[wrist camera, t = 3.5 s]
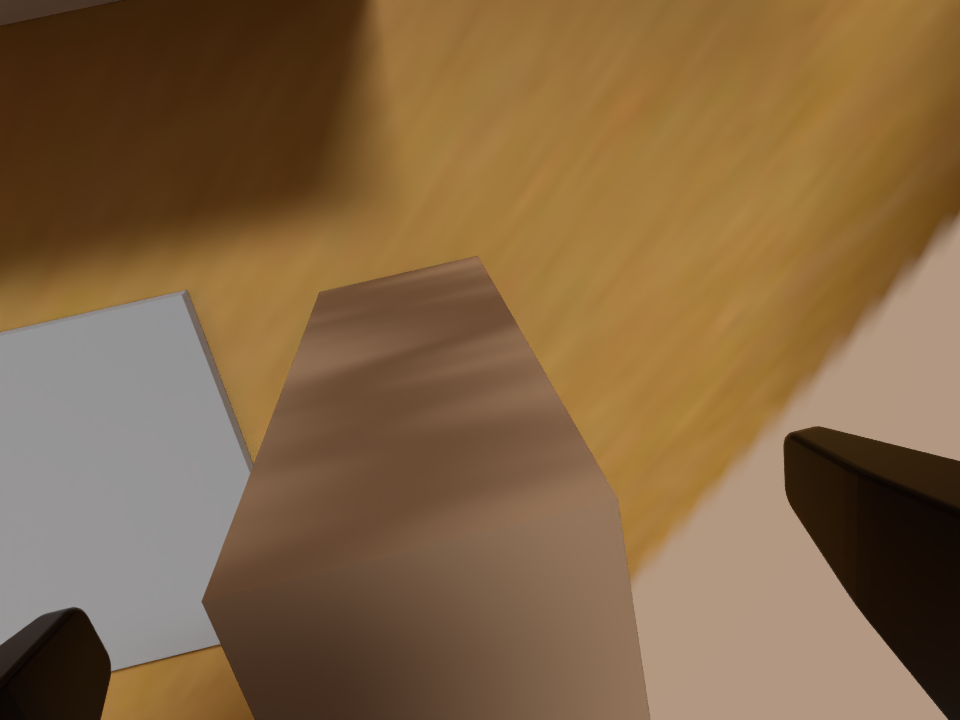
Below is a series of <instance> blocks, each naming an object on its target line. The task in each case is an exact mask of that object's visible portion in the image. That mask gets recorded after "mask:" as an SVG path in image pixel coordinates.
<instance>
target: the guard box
mask: <svg viewBox="0 0 960 720" xmlns="http://www.w3.org/2000/svg"><path fill="white" fill-rule="evenodd" d="M116 1H121V0H0V26H1V25H6V24H11V23H15V22H20V21H25V20H30V19H35V18H39V17H44V16H49V15H54V14H59V13H63V12H68V11H73V10H78V9H83V8H87V7H92V6H97V5H102V4H107V3H111V2H116Z"/></svg>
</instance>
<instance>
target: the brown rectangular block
mask: <svg viewBox="0 0 960 720" xmlns="http://www.w3.org/2000/svg"><path fill="white" fill-rule="evenodd" d="M201 602H202V604H203V606H204V608H205V611H206V613H207V615H208V617H209V619H210V622H211V624H212V626H213V628H214V631H215V633H216V635H217V637H218V639H219V642H220V644H221V646H222V648H223V650H224V653H225V655H226V657H227V659H228V661H229V664H230V666H231V668H232V670H233V672H234V675H235V677H236V679H237V681H238V683H239V686H240V688H241V690H242V692H243V695H244V697H245V699H246V701H247V703H248V706H249V708H250V710H251V712H252V714H253V717H254V719H255V720H650V714H649V707H648V700H647V694H646V687H645V681H644V674H643V666H642V660H641V653H640V646H639V640H638V632H637V626H636V619H635V612H634V605H633V598H632V592H631V585H630V578H629V571H628V564H627V558H626V551H625V544H624V537H623V531H622V524H621V517H620V510H619V503H618V498H617V497H616V495H615V493H614V491H613V490H612V488H611V486H610V484H609V483H608V481H607V479H606V477H605V476H604V474H603V472H602V471H601V469H600V467H599V465H598V464H597V462H596V460H595V458H594V457H593V455H592V453H591V451H590V450H589V448H588V446H587V444H586V443H585V441H584V439H583V438H582V436H581V434H580V432H579V431H578V429H577V427H576V425H575V424H574V422H573V420H572V418H571V417H570V415H569V413H568V412H567V410H566V408H565V406H564V405H563V403H562V401H561V399H560V398H559V396H558V394H557V392H556V391H555V389H554V387H553V386H552V384H551V382H550V380H549V379H548V377H547V375H546V373H545V372H544V370H543V368H542V366H541V365H540V363H539V361H538V359H537V358H536V356H535V354H534V353H533V351H532V349H531V347H530V346H529V344H528V342H527V340H526V339H525V337H524V335H523V333H522V332H521V330H520V328H519V327H518V325H517V323H516V321H515V320H514V318H513V316H512V314H511V313H510V311H509V309H508V307H507V306H506V304H505V302H504V301H503V299H502V297H501V295H500V294H499V292H498V290H497V288H496V287H495V285H494V283H493V281H492V280H491V278H490V276H489V274H488V273H487V271H486V269H485V268H484V266H483V264H482V262H481V261H480V259H479V257H478V256H476V257H471V258H467V259H462V260H458V261H454V262H449V263H445V264H441V265H436V266H432V267H428V268H423V269H419V270H414V271H410V272H406V273H401V274H397V275H393V276H388V277H384V278H380V279H375V280H371V281H366V282H362V283H358V284H353V285H349V286H345V287H340V288H336V289H332V290H327V291H323V292H319V295H318V298H317V300H316V303H315V305H314V308H313V311H312V313H311V316H310V319H309V321H308V324H307V326H306V329H305V332H304V334H303V337H302V340H301V342H300V345H299V347H298V350H297V353H296V355H295V358H294V360H293V363H292V366H291V368H290V371H289V374H288V376H287V379H286V381H285V384H284V387H283V389H282V392H281V395H280V397H279V400H278V402H277V405H276V408H275V410H274V413H273V415H272V418H271V421H270V423H269V426H268V429H267V431H266V434H265V436H264V439H263V442H262V444H261V447H260V450H259V452H258V455H257V457H256V460H255V463H254V465H253V468H252V470H251V473H250V476H249V478H248V481H247V484H246V486H245V489H244V491H243V494H242V497H241V499H240V502H239V505H238V507H237V510H236V512H235V515H234V518H233V520H232V523H231V525H230V528H229V531H228V533H227V536H226V539H225V541H224V544H223V546H222V549H221V552H220V554H219V557H218V560H217V562H216V565H215V567H214V570H213V573H212V575H211V578H210V581H209V583H208V586H207V588H206V591H205V594H204V596H203V599H202V601H201Z"/></svg>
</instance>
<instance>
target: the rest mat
mask: <svg viewBox="0 0 960 720" xmlns="http://www.w3.org/2000/svg"><path fill="white" fill-rule="evenodd" d="M252 468H253V463H252V460H251V457H250V455H249V452H248V449H247V447H246V444H245V441H244V439H243V436H242V434H241V431H240V428H239V426H238V423H237V420H236V418H235V415H234V413H233V410H232V407H231V405H230V402H229V399H228V397H227V394H226V391H225V389H224V386H223V384H222V381H221V378H220V376H219V373H218V370H217V368H216V365H215V362H214V360H213V357H212V355H211V352H210V349H209V347H208V344H207V341H206V339H205V336H204V333H203V331H202V328H201V326H200V323H199V320H198V318H197V315H196V312H195V310H194V307H193V304H192V302H191V299H190V297H189V294H188V291H187V290H185V291H180V292H176V293H172V294H167V295H163V296H158V297H154V298H150V299H145V300H141V301H136V302H132V303H128V304H123V305H119V306H114V307H110V308H106V309H101V310H97V311H92V312H88V313H84V314H79V315H75V316H70V317H66V318H61V319H57V320H53V321H48V322H44V323H39V324H35V325H31V326H26V327H22V328H17V329H13V330H9V331H4V332H0V645H1V644H2V643H4V642H5V641H6V640H8V639H9V638H11V637H12V636H13V635H15V634H16V633H17V632H19V631H20V630H21V629H23V628H24V627H25V626H27V625H28V624H30V623H31V622H32V621H34V620H35V619H36V618H38V617H39V616H41V615H43V614H46V613H50V612H54V611H58V610H62V609H66V608H70V607H77V608H80V609H82V610H83V611H84V612H85V613H86V614H87V615H88V617H89V619H90V621H91V623H92V625H93V626H94V628H95V630H96V632H97V634H98V636H99V637H100V639H101V641H102V643H103V645H104V647H105V649H106V650H107V652H108V655H109V657H110V661H111V671H114V670H118V669H122V668H126V667H130V666H134V665H138V664H142V663H146V662H150V661H154V660H158V659H162V658H166V657H170V656H174V655H178V654H182V653H186V652H190V651H194V650H198V649H202V648H206V647H210V646H214V645H218V644H220V642H219V639H218V637H217V635H216V633H215V631H214V628H213V626H212V624H211V622H210V619H209V617H208V615H207V613H206V611H205V608H204V606H203V604H202V602H201V601H202V599H203V596H204V594H205V591H206V588H207V586H208V583H209V581H210V578H211V575H212V573H213V570H214V567H215V565H216V562H217V560H218V557H219V554H220V552H221V549H222V546H223V544H224V541H225V539H226V536H227V533H228V531H229V528H230V525H231V523H232V520H233V518H234V515H235V512H236V510H237V507H238V505H239V502H240V499H241V497H242V494H243V491H244V489H245V486H246V484H247V481H248V478H249V476H250V473H251V470H252Z"/></svg>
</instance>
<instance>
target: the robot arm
mask: <svg viewBox="0 0 960 720" xmlns="http://www.w3.org/2000/svg"><path fill="white" fill-rule="evenodd" d="M784 474H785V491H786V495H787V498H788V501H789V503H790V505H791V507H792V509H793V510H794V512H795V513H796V515H797V517H798V518H799V520H800V521H801V523H802V524H803V526H804V527H805V529H806V530H807V532H808V533H809V535H810V536H811V538H812V540H813V541H814V543H815V544H816V546H817V547H818V549H819V550H820V552H821V553H822V555H823V556H824V558H825V559H826V561H827V563H828V564H829V566H830V567H831V568H832V570H833V572H834V573H835V575H836V576H837V578H838V579H839V581H840V582H841V584H842V586H843V587H844V589H845V590H846V592H847V593H848V594H849V596H850V597H851V599H852V600H853V602H854V603H855V605H856V606H857V607H858V609H859V610H860V611H861V612H862V614H863V615H864V616H865V618H866V619H867V620H868V621H869V623H870V624H871V625H872V626H873V628H874V629H875V630H876V631H877V633H878V634H879V635H880V636H881V637H882V638H883V640H884V641H885V642H886V644H887V645H888V646H889V647H890V648H891V650H892V651H893V652H894V653H895V655H896V656H897V657H898V658H899V660H900V661H901V662H902V663H903V665H904V666H905V667H906V668H907V669H908V671H909V672H910V673H911V674H912V675H913V677H914V678H915V679H916V680H917V682H918V683H919V684H920V685H921V687H922V688H923V689H924V690H925V691H926V693H927V694H928V695H929V697H930V698H931V699H932V700H933V701H934V703H935V704H936V705H937V706H938V708H939V709H940V710H941V711H942V713H943V714H944V715H945V716H946V717H947V719H948V720H960V461H957V460H953V459H949V458H945V457H941V456H937V455H933V454H929V453H925V452H921V451H917V450H912V449H909V448H905V447H901V446H897V445H892V444H889V443H885V442H881V441H877V440H873V439H869V438H864V437H860V436H857V435H852V434H848V433H844V432H840V431H836V430H832V429H828V428H824V427H819V426H817V427H811V428H807V429H803V430H799V431H794V432H791V433H789V434H788V435H787V436H786V437H785V440H784ZM110 677H111V661H110V657H109V655H108V652H107V650H106V649H105V647H104V645H103V643H102V641H101V639H100V637H99V636H98V634H97V632H96V630H95V628H94V626H93V625H92V623H91V621H90V619H89V617H88V615H87V614H86V613H85V612H84V611H83V610H82V609H80V608H77V607H70V608H66V609H62V610H58V611H54V612H50V613H46V614H43V615H41V616H39V617H38V618H36V619H35V620H34V621H32V622H31V623H30V624H28V625H27V626H25V627H24V628H23V629H21V630H20V631H19V632H17V633H16V634H15V635H13V636H12V637H11V638H9V639H8V640H6V641H5V642H4V643H2V644H1V645H0V720H101V716H102V712H103V707H104V703H105V699H106V694H107V690H108V686H109V681H110Z"/></svg>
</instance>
